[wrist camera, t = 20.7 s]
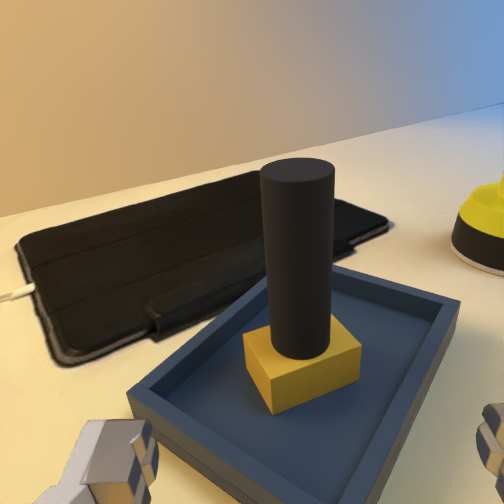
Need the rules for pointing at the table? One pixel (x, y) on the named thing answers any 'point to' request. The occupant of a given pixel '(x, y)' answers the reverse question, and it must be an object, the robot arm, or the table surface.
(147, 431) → the robot arm
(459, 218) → the flashlight
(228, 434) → the tray
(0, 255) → the table surface
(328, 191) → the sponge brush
